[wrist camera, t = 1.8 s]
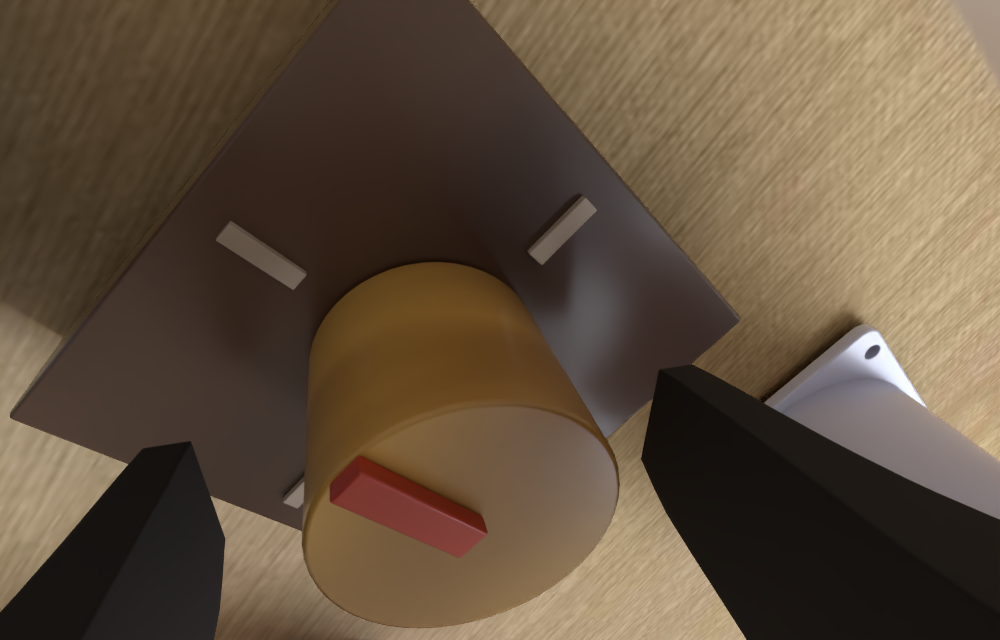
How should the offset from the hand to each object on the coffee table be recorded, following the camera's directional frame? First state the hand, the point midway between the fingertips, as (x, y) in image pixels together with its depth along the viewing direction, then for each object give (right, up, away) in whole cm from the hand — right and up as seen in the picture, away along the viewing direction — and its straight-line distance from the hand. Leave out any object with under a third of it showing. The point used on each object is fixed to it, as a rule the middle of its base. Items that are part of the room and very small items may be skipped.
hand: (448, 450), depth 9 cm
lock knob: (-1, +1, +2) cm, 2 cm away
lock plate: (-1, +2, +4) cm, 5 cm away
